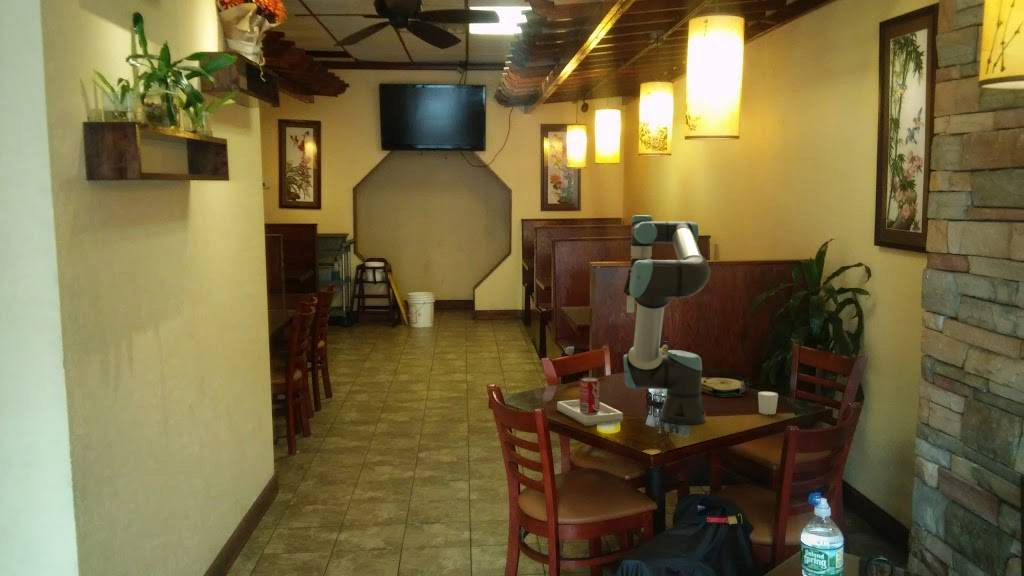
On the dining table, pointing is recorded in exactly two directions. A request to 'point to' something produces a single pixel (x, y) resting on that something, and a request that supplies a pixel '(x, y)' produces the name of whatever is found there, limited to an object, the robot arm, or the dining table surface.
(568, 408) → the bussing tray
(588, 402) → the soda can
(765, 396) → the white cup
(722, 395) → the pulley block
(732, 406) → the dining table surface
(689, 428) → the dining table surface
